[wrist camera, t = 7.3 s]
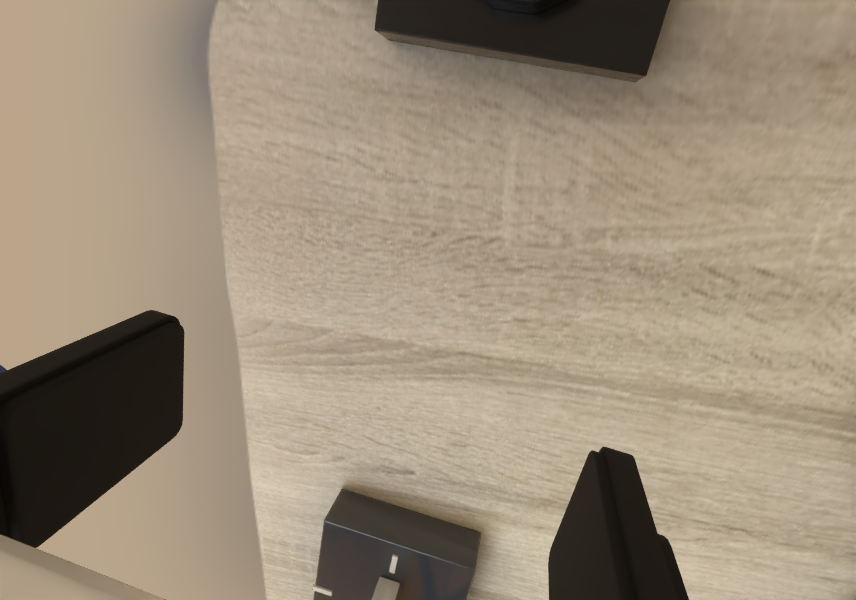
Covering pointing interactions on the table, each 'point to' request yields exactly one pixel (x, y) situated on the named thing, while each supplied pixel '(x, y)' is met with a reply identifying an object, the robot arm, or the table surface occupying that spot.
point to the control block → (534, 31)
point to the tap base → (392, 552)
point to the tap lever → (386, 590)
